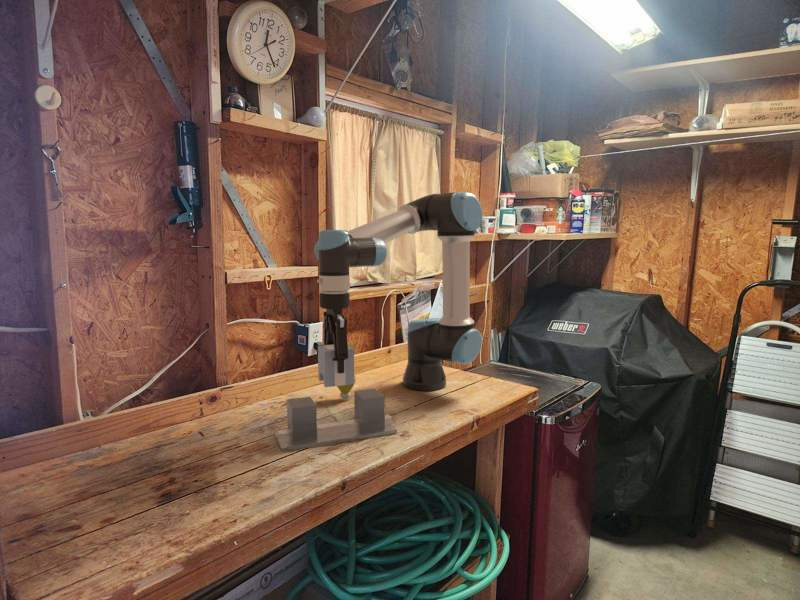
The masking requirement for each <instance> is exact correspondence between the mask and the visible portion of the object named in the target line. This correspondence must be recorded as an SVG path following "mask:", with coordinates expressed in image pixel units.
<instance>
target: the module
mask: <svg viewBox="0 0 800 600" xmlns="http://www.w3.org/2000/svg"><path fill="white" fill-rule="evenodd" d="M333 358H335V351H334V344H332V345H324V344H323V345H317V369H318V370H317V372H318V374H317V376H318V379H317V380H318V381H319V382H322V381H323V387H324V388H329V387H330V388H331V387H336V386H335V385H334V361H333V360H332V359H333ZM354 374H355V348H353V347H352V346H351V345H349V344H348V359H346V360H345V375H346V385H349V384H354V385H355V383H354ZM340 386H341V385H340Z"/></svg>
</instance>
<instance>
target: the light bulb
mask: <svg viewBox="0 0 800 600" xmlns="http://www.w3.org/2000/svg"><path fill="white" fill-rule="evenodd" d="M356 380H357V379H356V375H355V373H354V384H349V385H341V386H336V387H337V388H338V390H339V391H340V393H339V395H340V398H341V401H342V402H347V401H350V397H351V391H352V389H353V387H354V386H355V383H356Z"/></svg>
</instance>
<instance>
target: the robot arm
mask: <svg viewBox="0 0 800 600" xmlns="http://www.w3.org/2000/svg"><path fill="white" fill-rule="evenodd" d="M481 205H482V204H481V203H480V201H479V200H478V198H477V196H476V195H475V194H473V193H471V192H467V191H466V192H465V191H455V192H454V191H453V192H447V193H433V194H428V195H425V196H422V197H420V198H417V199H415V200H413V201H410V202H408V203H405V204H403V205H401V206H400V207H399V208H398V210H397V211H394V212H392V213H389V214H387V215H384V216H382V217H380V218H377V219H375V220H374V219H373V220H372V221H369V222H367V223H365V224H362V225H360V226H357V227H354V228H352V229H350V230H347V229H323V230H321V231H319V233H318V240H317V241H316V242H315V245H314V250H313V251H314V256H315V259H316V260H317V261H318V273H319V274H318V276H319V277H318V279H317V280H316V282H317V283H318V284H319V291H320V293H319V294H318V295H319V296H318V297H319V300H318V302H319V303H318V304H319V307H320V308H321V309H324V310H326V311H323V345H332V344H334V351H335V358H333V359H332V360H333V361H334V385H335V386H334V387H337V386H340V385H346V375H345V360H346V359H348V345H349V344H348V343H349V342H348V319H347V318H345V315H344V313H343V312H344V311H343V309H347V308H349V307H350V305H351V304H350V293H349V292H348V291H350V290H351V288H350V284H351V282H350V280H351V279H350V268H362V267H372V268H373V267H377V266H381V265H383V263H384V262H385V260H386V259H387V255H388V254H387V253H388V251H387V250H388V249H387V248H388V247H387V245H386V243H388V242H390V241H393V240H396V239H397V238H400V237H402V236H404V235H406V234H410V235H413V234H415V233H418V232H424V231H437V232H436V233H437V235H436V237H437V238H438V239H439V240H440V242H441V243H442V244H441V245H442V246H441V247H442V248H441V249H442V252H441V253H442V266H441V267H442V316H441V318H439V317H430V318H429V317H428V318H419V319H413V320H410V322H409V323H408V325H407V333H406V334H407V364H406V367H405V371H404V373H403V377H402V385H403V387H404V388H406V389H411V390H414V391H422V392H423V391H424V392H425V391H426V392H427V391H428V392H429V391H437V390H441V389H443V388H446V386H447V376H446V373H445V371H444V367H443V363H442V361H446V362H451V363H454V364H456V365H457V364H460V365H461V364H462V365H468V364H470V363H472V362H474V361H475V360H476V359H477V357H478V356H479V354H480V351H481V349H482V346H483V337H482V333H481V332H480V331H479V330H478V329H476V328H475V320H474V319H473V318H472V317H471V316H470V315H471V312H470V308H471V306H470V305H471V303H470V290H471V289H470V286H471V285H470V283H471V282H470V281H471V280H470V276H471V274H470V273H471V271H470V269H471V268H470V266H471V265H470V263H471V262H470V260H471V259H470V255H471V254H470V253H471V252H470V251H471V250H470V249H471V247H470V246H471V245H470V244H471V243H470V242H471V241H472V240H473V239H474V237H475V234H476V233H475V232H476V230H478V229H479V228H480V227H481V225H482V222H483V218H484V217H483V214H484V213H483V208H482V206H481Z"/></svg>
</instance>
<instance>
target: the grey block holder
mask: <svg viewBox="0 0 800 600" xmlns="http://www.w3.org/2000/svg"><path fill="white" fill-rule="evenodd" d="M353 395H354V396H353V397H354V398H353V399H354V403H353V404H354V409H353V411H354V419H350V420H342V421H335V422H329V423H322V424H318V419H317V417H318V416H317V415H318V414H317V411H318V410H317V404H316V403H315V401H314V400H313V398H312V397H311V396H304V397H296V398H290V399H286V416H287V417H286V419H287V422H286V423H287V424H286V425H287V429H282V430H277V431H276V432H275V433H274V437H275V440H276V442H277V444H278V447H279V450H280V452H281V453H286V452H291V451H298V450H303V449H310V448H317V447H322V446H329V445H334V444H341V443H347V442H355V441H359V440H364V439H370V438H378V437H382V436H390V435H395V434H398V429H397V428H396V427H395V426H394V425H393V417H392V416H391V414H385V413H386V412H385V411H386V409H385V407H386V406H385V405H386V404H385V401H386V399H385V398H386V397H385V395H384V394H383V393H382V392H380V391H379V390H378V389H376V388H369V389H362V390H361V389H359V390H355V391H354V390H353Z"/></svg>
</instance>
